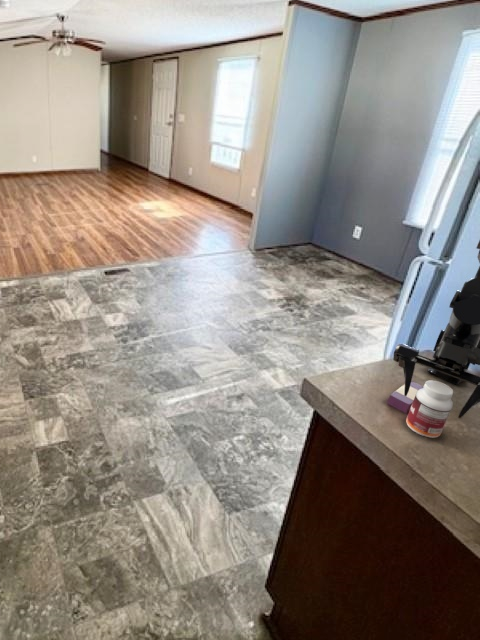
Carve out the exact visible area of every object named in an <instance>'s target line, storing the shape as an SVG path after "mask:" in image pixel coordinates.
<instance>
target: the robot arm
mask: <svg viewBox="0 0 480 640" xmlns="http://www.w3.org/2000/svg"><path fill="white" fill-rule="evenodd" d="M476 245H477V246H476V249H477V250H479V251H478V254H477V260H478V263H479V264H480V239H479V241H478V243H477V244H476ZM449 303H450V304H449V308H450V309H452V310H451V314H450V316H449V321H448V323H447V324H446V327H445V329H440V332H439V334H438V337H437V339H436V342H435V345H434V347H433V350H432V351H433V352H434V353H433V355H432V359H431V358H429V357H425V356H423V355H420V349H418V348H416V347H412V346H409V345H407V344H404V343H399V344H397V345H396V347H395V349H394V351H393V358H392V359H393V361H394V362H396V363H398V367H400V368H402V369H403V375H404V376H403V377H404V384H405V390H404V396H407V394H408V392H409V389H410V385H411V381H412V382H413V377H414V372H415V368H416V364H417V365H420V366H423V367H425V368H427V373H429V374H431V375H433V376H435V377H438V378H440V379H441V380H444V381H447V382H449V383H451V384H453V385H456V386H457V385H459V384H460V383H461V382H462V381H463V382H466V383H469V384H471V385H473V386H476V387H475V388H474V390H473V391H472V393H471V395H470V396H469V397H468V398H467V400H466V402H465V404H464V405H463V407H462V408H461V410H460V411H459V414H458V416H457V419H462V418H463V417H464V416H465V415H466V414H467V413H468V412H469V411H470V410H471V409H472V408H474V406H477V404H479V403H480V376H479V375H478V374H477V375H476V374H473V373H471V372H469V371H468V369H469V368H470V365H471V364H472V365H473V366H475V365H477V366H480V265H479V266H478V268H477V271H476V273H475V275H474V277H473V278H471V279H469V280H466V281H465V282H464V283H463V286H462V287H461V290H458V289H457V290H456V292H455V293H454V295H453V297H452V299H451V301H450V302H449Z"/></svg>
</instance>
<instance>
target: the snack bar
mask: <svg viewBox="0 0 480 640" xmlns="http://www.w3.org/2000/svg"><path fill="white" fill-rule="evenodd" d="M422 388H424V385H421V384H420V383H417V382H414V381H413V380H412V381H411V385H410V389H409V392H408V394H407V396H404V390H405V383H404V384H402V385H401V386H400V387H399V388H398V389H396V390H395V391H394V392H392V393H391V394H389V397H388V400H387V403H386V404H387V405H389V406H390V407H393V408H395V409H396V410H398V411H400V412H402V413H404V414H407V413H409V411H410V409H411V406H412V403H413V401H414V398H415V395H416V393H417V391H418V390H419V389H422Z"/></svg>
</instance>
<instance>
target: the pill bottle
mask: <svg viewBox="0 0 480 640" xmlns="http://www.w3.org/2000/svg"><path fill="white" fill-rule="evenodd" d="M423 387H424V388H422V389H419V390H418V391H417V393H416V395H415V398H414V401H413V403H412V406H411V409H410V411H409V412H408V414H407V416H406V419H405V422H406V425H407V427H408V428H409V429H410V430H411V431H413V432H415V433H416V434H417V435H420V436H422V437H426V438H431V439H435V438H438V437H440V436H441V434H442V432H443V430H444V428H445V426H446V423H447V421H448V419H449V417H450V414H451V412H452V409H453V408H454V407H453V406H454V402H453V400H452V398H453V395H454V389H453V388H452V387H451V386H449V385H448V384H445V383H444V382H441V381H438V380H435V379H434V380H432V379H428V380H426V381H425V383H424V385H423Z"/></svg>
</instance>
